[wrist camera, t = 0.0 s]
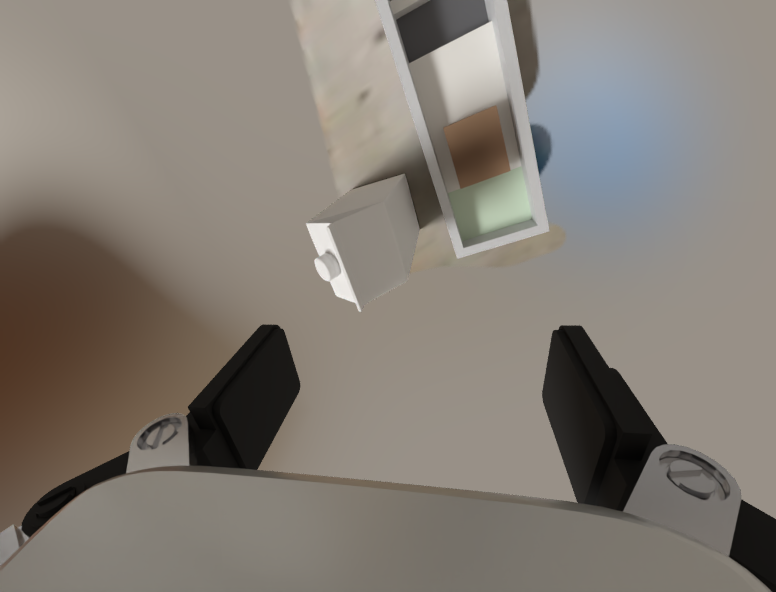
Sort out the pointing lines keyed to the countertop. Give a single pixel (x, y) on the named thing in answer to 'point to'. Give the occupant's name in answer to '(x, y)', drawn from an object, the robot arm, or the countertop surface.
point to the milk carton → (367, 240)
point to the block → (477, 147)
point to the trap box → (468, 112)
